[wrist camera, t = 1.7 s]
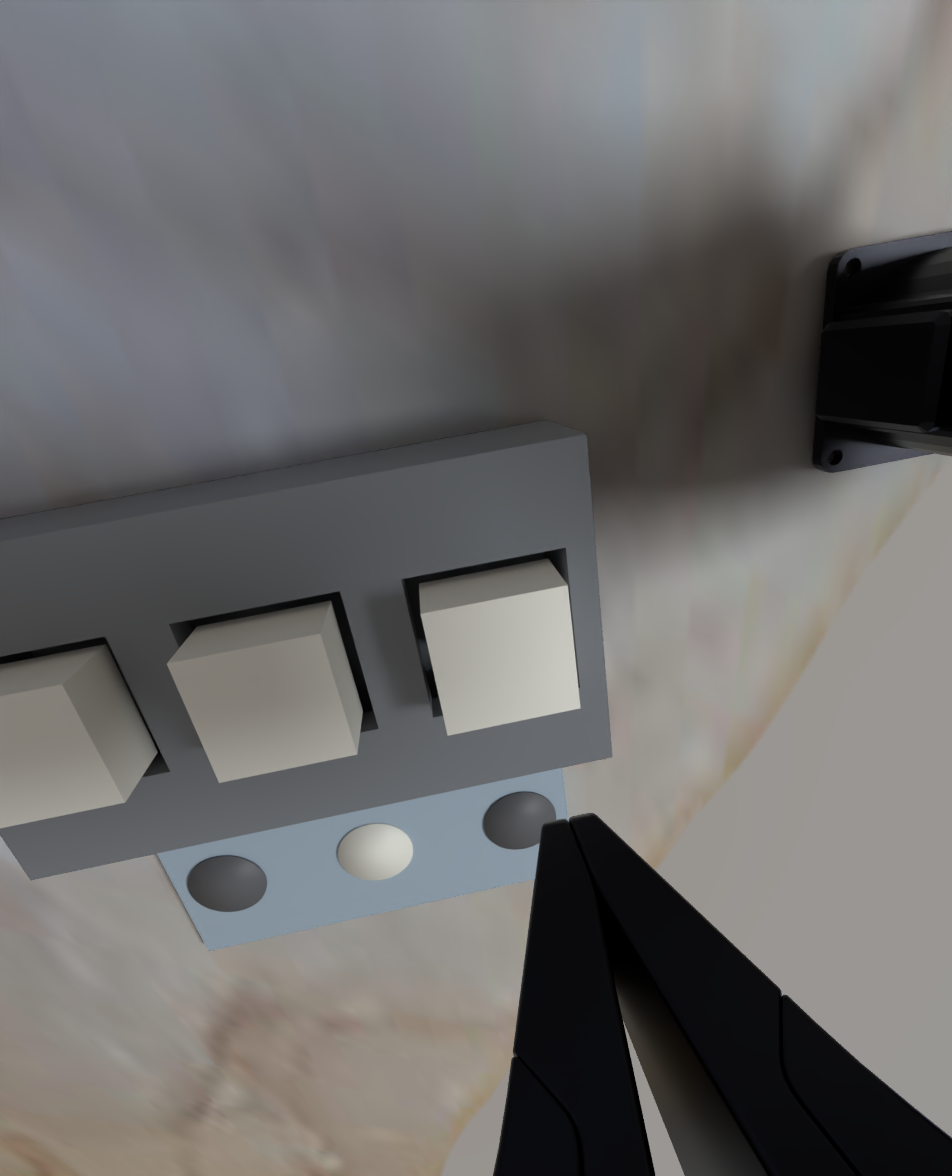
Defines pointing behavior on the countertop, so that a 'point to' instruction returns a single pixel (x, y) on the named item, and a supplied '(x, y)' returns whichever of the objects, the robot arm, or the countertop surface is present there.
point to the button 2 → (500, 645)
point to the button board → (297, 578)
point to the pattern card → (366, 860)
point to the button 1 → (67, 736)
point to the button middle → (270, 691)
